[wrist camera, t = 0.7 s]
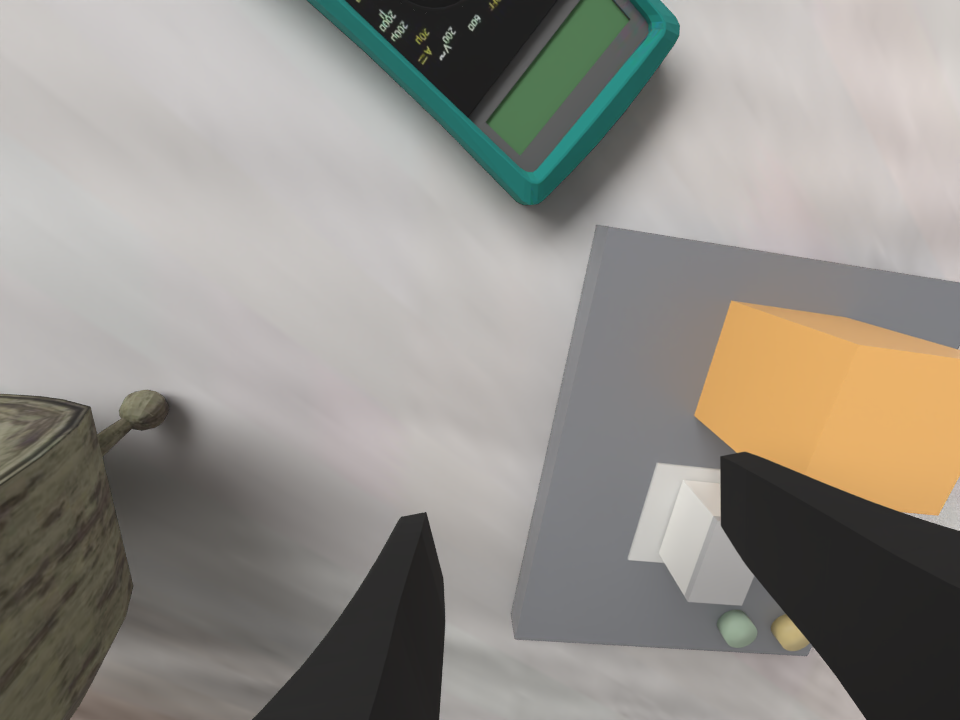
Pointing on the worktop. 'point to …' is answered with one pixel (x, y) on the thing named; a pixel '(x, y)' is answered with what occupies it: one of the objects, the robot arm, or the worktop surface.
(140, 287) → the worktop surface
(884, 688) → the robot arm
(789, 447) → the block
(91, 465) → the tabletop clock
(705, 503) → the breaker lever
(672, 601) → the grey flat plate
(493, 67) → the digital multimeter
